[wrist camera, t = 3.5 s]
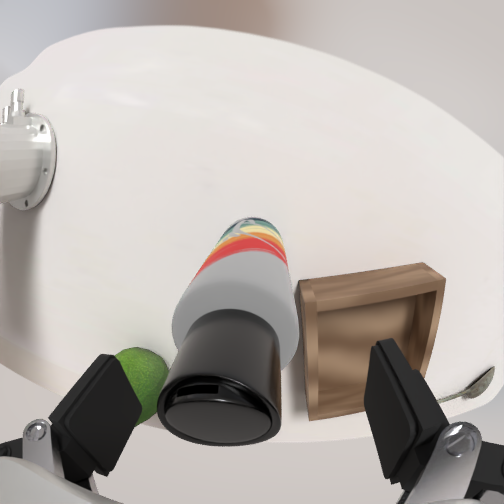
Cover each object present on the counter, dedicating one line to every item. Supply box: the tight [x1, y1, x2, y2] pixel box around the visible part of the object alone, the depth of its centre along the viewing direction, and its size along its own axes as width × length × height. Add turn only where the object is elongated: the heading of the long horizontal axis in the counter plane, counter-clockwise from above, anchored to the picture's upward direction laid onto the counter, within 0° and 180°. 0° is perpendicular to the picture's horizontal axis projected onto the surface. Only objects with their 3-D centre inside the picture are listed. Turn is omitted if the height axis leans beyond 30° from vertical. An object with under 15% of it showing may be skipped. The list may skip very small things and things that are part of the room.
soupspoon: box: [437, 367, 495, 403], centre depth 30 cm, size 22×3×7 cm
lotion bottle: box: [157, 217, 299, 446], centre depth 16 cm, size 6×6×20 cm
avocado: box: [115, 347, 169, 427], centre depth 25 cm, size 8×8×12 cm
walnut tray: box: [299, 262, 446, 421], centre depth 26 cm, size 16×14×5 cm
